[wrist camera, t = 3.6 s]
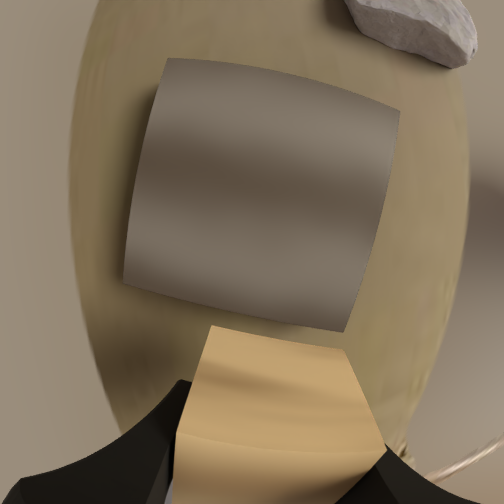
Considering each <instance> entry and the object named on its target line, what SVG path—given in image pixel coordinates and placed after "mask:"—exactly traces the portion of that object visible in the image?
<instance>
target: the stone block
mask: <svg viewBox="0 0 504 504" xmlns="http://www.w3.org/2000/svg"><path fill="white" fill-rule="evenodd" d="M344 2H345V3H346V5H347V7H348V9H349V11H350V14H351V16H352V17H353V20H354V22H355V24H356V26H357V27H358V29H359V30H360V32H361V33H362V34H364V35H366V36H368V37H370V38H373V39H375V40H377V41H379V42H381V43H383V44H385V45H387V46H389V47H391V48H393V49H398V50H403V51H407V52H409V53H417V54H419V55H421V56H424V57H425V58H427V59H429V60H431V61H433V62H437V63H440V64H442V65H445V66H447V67H449V68H458V67H460V66H464V65H466V64H468V62H469V61H470V59H472V58H473V57H474V54H475V53H476V51H477V49H478V46H477V45H478V43H477V32H476V30H475V26H474V24H473V22H472V18H471V16H470V14H469V12H468V11H467V9H466V8H465V7H464V6H463V4H462V2H461V1H460V0H344Z"/></svg>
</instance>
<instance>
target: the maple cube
mask: <svg viewBox="0 0 504 504" xmlns="http://www.w3.org/2000/svg"><path fill="white" fill-rule="evenodd" d="M386 451H387V449H386V446H385V444H384V441H383V439H382V436H381V434H380V432H379V429H378V427H377V424H376V422H375V420H374V417H373V415H372V413H371V410H370V408H369V406H368V403H367V401H366V399H365V396H364V394H363V392H362V390H361V387H360V385H359V383H358V381H357V378H356V376H355V374H354V372H353V370H352V367H351V365H350V363H349V361H348V359H347V356H346V354H345V352H344V350H341V349H334V348H327V347H320V346H314V345H308V344H302V343H296V342H290V341H284V340H279V339H274V338H269V337H263V336H258V335H254V334H249V333H244V332H239V331H235V330H230V329H226V328H222V327H217V326H213V325H212V326H211V329H210V332H209V335H208V338H207V341H206V344H205V347H204V350H203V353H202V356H201V359H200V362H199V365H198V368H197V371H196V374H195V377H194V380H193V383H192V386H191V389H190V392H189V395H188V398H187V401H186V404H185V407H184V410H183V413H182V416H181V419H180V422H179V425H178V429H177V432H176V444H175V456H174V471H173V488H172V504H334V503H336V502H337V501H338V500H339V499H340V498H341V497H342V496H343V495H345V494H346V493H347V492H348V491H349V490H350V489H351V488H352V487H353V486H354V485H355V484H356V483H357V482H358V481H359V480H360V479H361V478H362V477H363V476H364V475H365V474H366V473H367V472H368V471H369V470H370V469H371V468H372V466H373V465H374V464H375V463H376V462H377V461H378V460H379V459H380V458H381V456H382V455H383V454H384V453H385V452H386Z"/></svg>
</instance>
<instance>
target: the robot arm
mask: <svg viewBox="0 0 504 504" xmlns="http://www.w3.org/2000/svg"><path fill="white" fill-rule="evenodd" d="M192 383H193V382H189V381H185V380H182V379H181V380H178V381H177V383H176V384H175V385H174V387H173V388H172V389H171V390H170V392H169V393H168V394H167V395H166V396H165V397H164V399H163V400H162V401H161V402H160V403H159V404H158V405H157V406H156V407H155V408H154V409H153V410H152V411H151V412H150V413H149V414H148V415H147V416H146V417H144V418H143V419H142V420H141V421H140V422H139V423H137V424H136V425H135V426H134V427H133V428H131V429H130V430H129V431H128V432H126V433H125V434H124V435H122V436H121V437H119V438H118V439H116V440H115V441H114V442H112V443H110V444H109V445H107V446H106V447H104V448H102V449H100V450H99V451H97V452H95V453H93V454H91V455H89V456H87V457H86V458H83V459H81V460H79V461H77V462H74V463H72V464H69V465H67V466H64V467H61V468H59V469H56V470H53V471H49V472H46V473H42V474H38V475H34V476H29V477H24V478H21V479H20V480H19V481H18V482H17V483H16V484H15V485H14V486H13V487H12V489H11V490H10V491H9V493H8V495H7V496H6V498H5V499H4V501H3V503H2V504H172V488H173V471H174V456H175V444H176V432H177V429H178V425H179V422H180V419H181V416H182V413H183V410H184V407H185V404H186V401H187V398H188V395H189V392H190V389H191V386H192ZM384 444H385V443H384ZM385 446H386V449H387V451H386V452H385V453H384V454H383V455H382V456H381V458H380V459H379V460H378V461H377V462H376V463H375V464H374V465H373V466H372V468H371V469H370V470H369V471H368V472H367V473H366V474H365V475H364V476H363V477H362V478H361V479H360V480H359V481H358V482H357V483H356V484H355V485H354V486H353V487H352V488H351V489H350V490H349V491H348V492H347V493H346V494H345V495H343V496H342V497H341V498H340V499H339V500H338V501H337V502H336V503H334V504H480V503H476V502H473V501H470V500H467V499H463V498H461V497H458V496H456V495H454V494H451V493H449V492H447V491H445V490H443V489H441V488H440V487H438V486H436V485H435V484H433V483H431V482H430V481H428V480H427V479H425V478H424V477H422V476H421V475H419V474H418V473H417V472H415V471H414V470H413V469H412V468H410V467H409V466H408V465H407V464H406V463H404V462H403V461H402V460H401V459H400V458H399V457H398V456H397V455H396V454H395V453H394V452H393V451H392V450H391V449H390V448H389V447H388V446H387V445H386V444H385Z"/></svg>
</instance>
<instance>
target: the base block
mask: <svg viewBox="0 0 504 504" xmlns="http://www.w3.org/2000/svg"><path fill="white" fill-rule="evenodd" d="M399 118H400V111H399V110H397V109H394V108H392V107H390V106H387V105H385V104H382V103H380V102H378V101H375V100H372V99H370V98H367V97H365V96H362V95H359V94H356V93H353V92H351V91H348V90H345V89H342V88H338V87H335V86H332V85H329V84H326V83H322V82H319V81H315V80H312V79H308V78H304V77H300V76H296V75H292V74H288V73H283V72H279V71H274V70H269V69H264V68H258V67H253V66H247V65H240V64H233V63H226V62H217V61H208V60H196V59H181V58H168V59H167V62H166V65H165V68H164V71H163V74H162V77H161V80H160V83H159V86H158V89H157V93H156V96H155V100H154V103H153V106H152V110H151V114H150V117H149V121H148V125H147V129H146V133H145V137H144V141H143V146H142V150H141V155H140V159H139V164H138V169H137V174H136V180H135V185H134V191H133V197H132V203H131V210H130V217H129V224H128V232H127V240H126V250H125V260H124V272H123V284H127V285H130V286H134V287H137V288H140V289H144V290H148V291H151V292H155V293H158V294H162V295H166V296H170V297H174V298H177V299H181V300H185V301H189V302H193V303H197V304H201V305H205V306H210V307H214V308H218V309H222V310H227V311H231V312H236V313H240V314H245V315H250V316H254V317H259V318H264V319H269V320H274V321H279V322H284V323H289V324H295V325H300V326H306V327H312V328H317V329H323V330H329V331H336V332H342V333H343V332H344V330H345V327H346V325H347V322H348V319H349V317H350V314H351V311H352V308H353V306H354V303H355V300H356V297H357V294H358V291H359V288H360V285H361V282H362V279H363V276H364V273H365V270H366V267H367V263H368V260H369V257H370V254H371V250H372V247H373V243H374V240H375V236H376V232H377V228H378V225H379V221H380V217H381V213H382V209H383V205H384V200H385V196H386V191H387V187H388V182H389V177H390V172H391V167H392V162H393V157H394V151H395V145H396V139H397V132H398V125H399Z"/></svg>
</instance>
